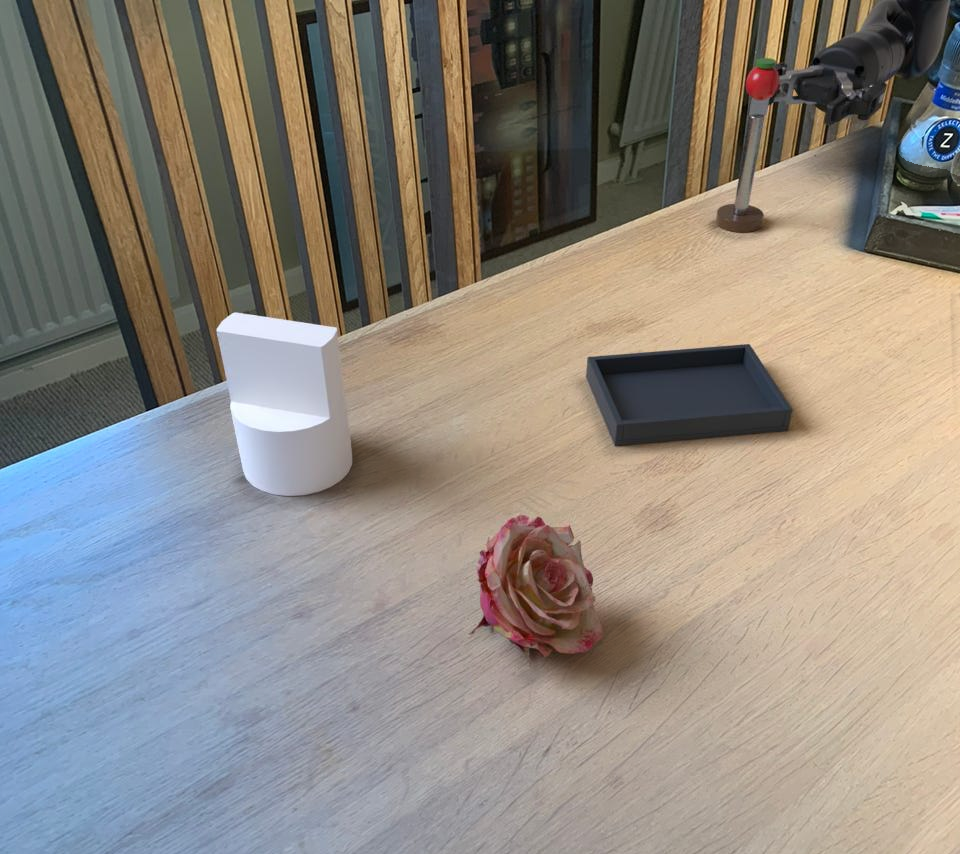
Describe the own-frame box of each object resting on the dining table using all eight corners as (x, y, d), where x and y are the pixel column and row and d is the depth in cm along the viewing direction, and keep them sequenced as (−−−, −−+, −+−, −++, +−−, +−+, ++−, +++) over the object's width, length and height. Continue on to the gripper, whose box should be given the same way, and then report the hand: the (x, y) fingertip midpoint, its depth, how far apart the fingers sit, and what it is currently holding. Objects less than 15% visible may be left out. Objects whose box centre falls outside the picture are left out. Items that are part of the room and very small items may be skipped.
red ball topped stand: (752, 212, 120) (781, 52, 108) (767, 231, 116) (799, 67, 104) (709, 215, 119) (734, 54, 108) (723, 234, 116) (750, 69, 104)
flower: (422, 635, 68) (480, 591, 61) (467, 532, 72) (525, 480, 66) (540, 706, 70) (607, 671, 64) (575, 602, 75) (641, 559, 69)
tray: (745, 364, 96) (749, 343, 94) (788, 430, 88) (793, 409, 86) (585, 377, 94) (587, 356, 93) (614, 446, 86) (616, 424, 85)
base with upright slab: (223, 485, 83) (193, 349, 74) (272, 425, 89) (249, 294, 80) (326, 504, 81) (307, 368, 72) (368, 442, 87) (355, 309, 78)
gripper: (802, 27, 126) (742, 60, 117) (915, 47, 120) (861, 83, 111) (789, 93, 131) (731, 129, 122) (897, 115, 125) (844, 156, 116)
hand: (793, 107), depth 117 cm, fingers open, 8 cm apart
